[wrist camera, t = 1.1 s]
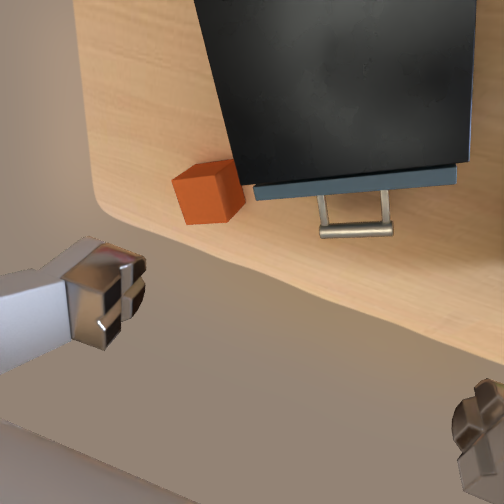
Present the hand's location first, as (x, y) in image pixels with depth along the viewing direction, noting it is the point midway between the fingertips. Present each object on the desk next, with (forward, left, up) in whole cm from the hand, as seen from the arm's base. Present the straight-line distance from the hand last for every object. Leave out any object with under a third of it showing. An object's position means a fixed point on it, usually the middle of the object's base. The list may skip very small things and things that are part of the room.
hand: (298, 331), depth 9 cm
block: (+17, +5, -28) cm, 34 cm away
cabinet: (+2, -5, -28) cm, 29 cm away
